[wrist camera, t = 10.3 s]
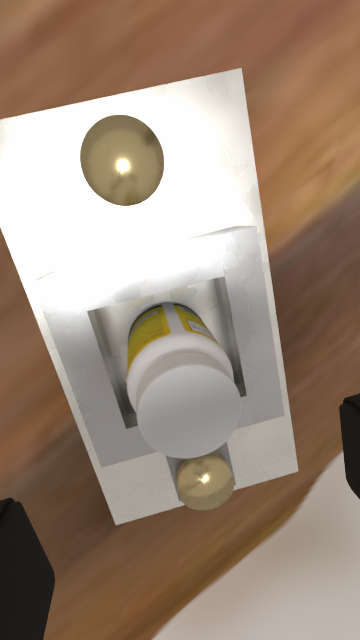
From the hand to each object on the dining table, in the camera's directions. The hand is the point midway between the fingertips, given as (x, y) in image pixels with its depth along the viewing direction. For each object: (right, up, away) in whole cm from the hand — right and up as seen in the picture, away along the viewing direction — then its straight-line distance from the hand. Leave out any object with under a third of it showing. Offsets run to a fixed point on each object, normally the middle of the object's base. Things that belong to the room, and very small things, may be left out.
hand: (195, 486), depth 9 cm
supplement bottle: (-1, +4, +11) cm, 12 cm away
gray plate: (-1, +4, +12) cm, 12 cm away
